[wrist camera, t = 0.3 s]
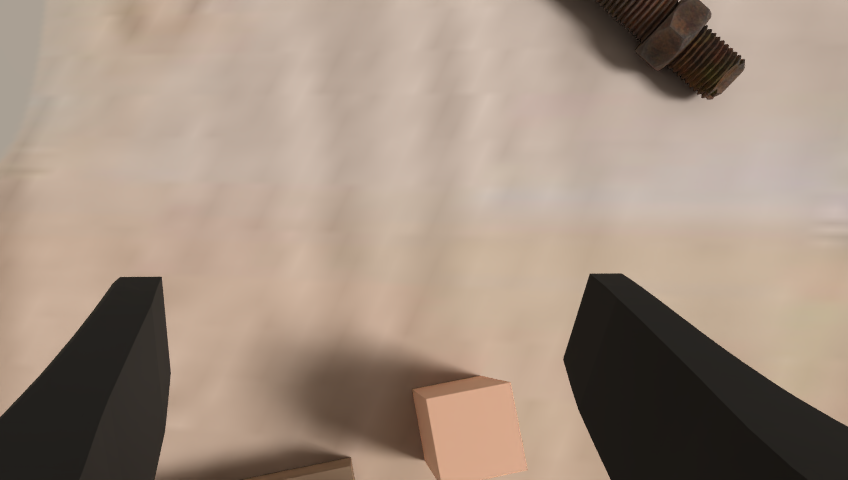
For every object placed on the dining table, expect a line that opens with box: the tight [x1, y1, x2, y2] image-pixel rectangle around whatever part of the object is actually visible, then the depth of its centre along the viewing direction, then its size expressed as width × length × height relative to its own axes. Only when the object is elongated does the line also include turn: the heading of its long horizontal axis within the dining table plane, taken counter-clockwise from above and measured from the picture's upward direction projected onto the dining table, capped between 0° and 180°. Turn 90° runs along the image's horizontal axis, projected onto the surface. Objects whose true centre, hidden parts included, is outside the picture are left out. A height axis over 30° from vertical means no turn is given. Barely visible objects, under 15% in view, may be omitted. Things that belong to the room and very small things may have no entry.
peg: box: [412, 376, 528, 480], centre depth 37 cm, size 4×4×8 cm
